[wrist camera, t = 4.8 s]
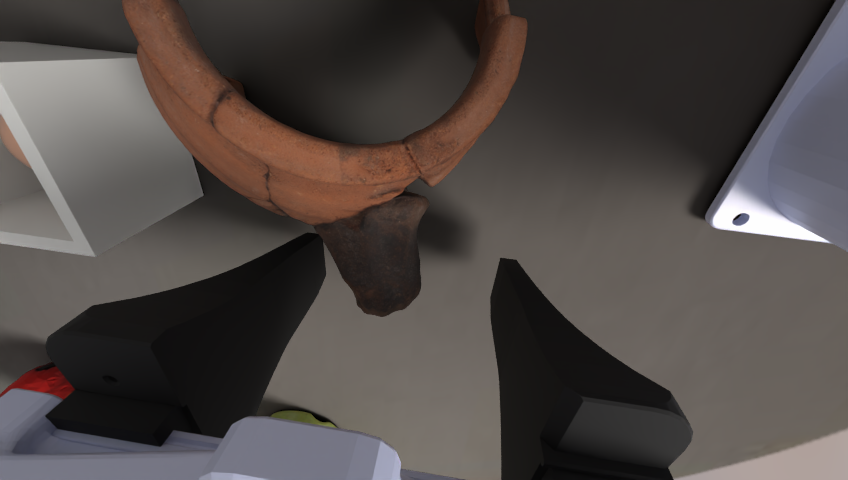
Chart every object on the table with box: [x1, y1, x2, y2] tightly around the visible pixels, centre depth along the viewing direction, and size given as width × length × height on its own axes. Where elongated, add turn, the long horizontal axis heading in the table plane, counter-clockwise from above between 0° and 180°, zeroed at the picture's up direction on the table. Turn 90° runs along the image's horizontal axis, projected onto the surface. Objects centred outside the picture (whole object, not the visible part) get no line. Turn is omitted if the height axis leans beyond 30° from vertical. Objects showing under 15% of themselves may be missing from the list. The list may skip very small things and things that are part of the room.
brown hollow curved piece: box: [122, 0, 528, 317], centre depth 10 cm, size 12×10×8 cm
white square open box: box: [0, 42, 204, 257], centre depth 11 cm, size 6×6×5 cm
